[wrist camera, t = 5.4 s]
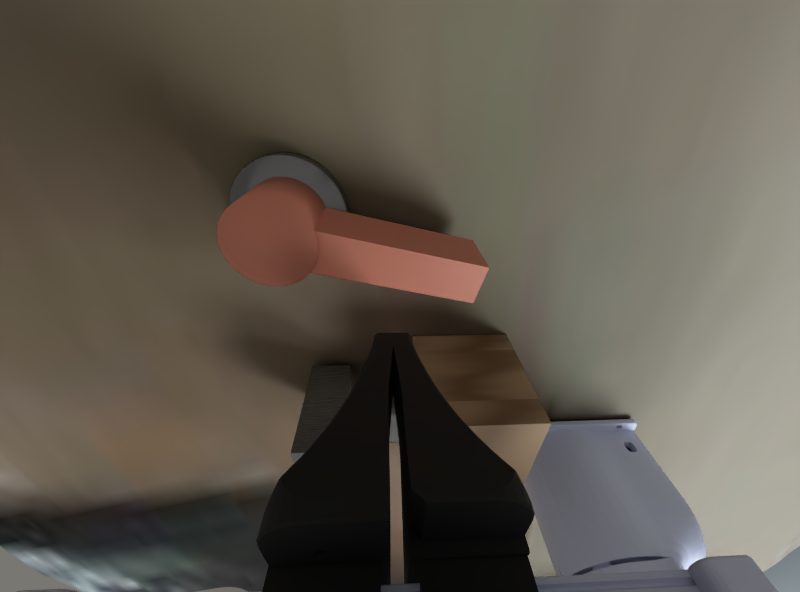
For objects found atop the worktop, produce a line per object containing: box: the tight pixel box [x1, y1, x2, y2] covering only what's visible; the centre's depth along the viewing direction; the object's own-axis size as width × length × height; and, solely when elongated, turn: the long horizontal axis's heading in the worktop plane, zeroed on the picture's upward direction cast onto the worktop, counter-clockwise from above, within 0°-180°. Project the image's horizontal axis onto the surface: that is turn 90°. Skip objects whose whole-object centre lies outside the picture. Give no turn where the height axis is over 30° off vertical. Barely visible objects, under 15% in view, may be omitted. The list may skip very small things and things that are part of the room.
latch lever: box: [217, 177, 489, 303], centre depth 13 cm, size 4×10×3 cm, turn 76°
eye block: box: [412, 334, 551, 485], centre depth 19 cm, size 6×8×6 cm
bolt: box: [291, 365, 399, 463], centre depth 19 cm, size 11×4×6 cm, turn 89°
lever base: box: [230, 152, 348, 212], centre depth 15 cm, size 5×5×1 cm
